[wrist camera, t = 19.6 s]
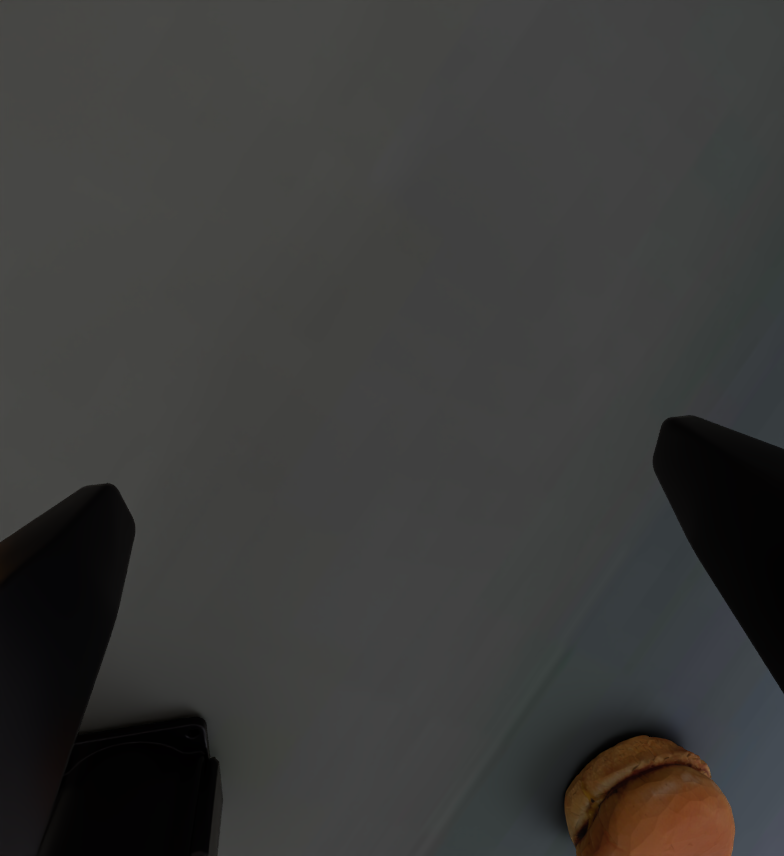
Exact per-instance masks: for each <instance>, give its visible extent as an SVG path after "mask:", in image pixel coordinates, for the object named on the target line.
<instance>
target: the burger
mask: <svg viewBox="0 0 784 856" xmlns="http://www.w3.org/2000/svg"><path fill="white" fill-rule="evenodd" d="M710 774H711V773H710V769H709V767H708V766H707V764H706V763H705V762H704V761H703V760H701V759H700V757H699V756H698V755H695V754H694V753H692V752H690V751H687V750H685V749H684V748H683V747H681V746H678V745H676V744H675V743H674V742H672V741H670V740H667V739H662V738H658V737H648V736H646V735H641V736H637V737H634V738H630V739H628V740H625V741H622V742H620V743H618V744H617V745H615V746H614V747H611V748H609V749H608V750H606V751H604V752H602V753H600V754H599V755H598V756H597V757H596V758H594V759H593V760H591V762H590V763H588V764H587V765H586V766H585V768H584V769H583V770H582V771H581V772H580V774H578V775H577V776H576V777H575V779H574V780H573V781H572V783H571V784H570V786H569V787H568V789H567V791H566V794H565V802H564V806H565V816H566V822H567V826H568V830H569V834H570V837H571V840H572V842H573V843H574V845H575V848H576V855H577V856H731V853H732V849H733V842H734V834H735V825H734V819H733V815H732V810H731V807H730V805H729V803H728V801H727V799H726V797H725V796H724V794H723V793H722V791H721V790H720V789H719V787H718V786H717V785H716V784H715V783H714V781H713V780H711V779H710V778H711V775H710Z"/></svg>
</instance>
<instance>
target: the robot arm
mask: <svg viewBox="0 0 784 856" xmlns="http://www.w3.org/2000/svg"><path fill="white" fill-rule="evenodd" d="M653 468H654V471H655V474H656V476H657V478H658V480H659V482H660V484H661V486H662V488H663V490H664V492H665V494H666V496H667V498H668V500H669V502H670V504H671V506H672V508H673V511H674V513H675V515H676V517H677V519H678V521H679V523H680V525H681V527H682V529H683V531H684V533H685V535H686V537H687V539H688V541H689V543H690V545H691V546H692V548H693V550H694V552H695V553H696V555H697V557H698V558H699V560H700V562H701V563H702V565H703V567H704V568H705V570H706V571H707V573H708V575H709V576H710V578H711V579H712V581H713V582H714V584H715V586H716V587H717V589H718V590H719V592H720V594H721V595H722V597H723V598H724V600H725V601H726V603H727V605H728V606H729V608H730V609H731V611H732V612H733V614H734V616H735V617H736V619H737V620H738V622H739V624H740V625H741V627H742V628H743V630H744V631H745V633H746V635H747V636H748V638H749V639H750V641H751V643H752V644H753V646H754V647H755V649H756V650H757V652H758V654H759V655H760V657H761V658H762V660H763V662H764V663H765V665H766V666H767V668H768V669H769V671H770V673H771V674H772V676H773V677H774V679H775V681H776V682H777V684H778V685H779V687H780V688H781V690H782V692H783V693H784V449H782V448H780V447H777V446H774V445H772V444H769V443H766V442H764V441H761V440H758V439H755V438H753V437H750V436H747V435H745V434H742V433H739V432H737V431H734V430H731V429H729V428H726V427H723V426H720V425H718V424H715V423H712V422H710V421H707V420H704V419H702V418H699V417H696V416H691V415H688V416H679V417H671V418H668V419H666V420H665V421H664V422H663V423H662V426H661V429H660V433H659V437H658V440H657V444H656V448H655V452H654V455H653ZM134 537H135V523H134V519H133V517H132V515H131V513H130V511H129V509H128V508H127V506H126V504H125V502H124V500H123V498H122V496H121V494H120V492H119V490H118V489H117V488H116V487H115V486H114V485H113V484H109V483H106V484H97V485H89V486H85V487H82V488H81V489H79V490H78V491H76V492H75V493H73V494H72V495H70V496H69V497H67V498H66V499H64V500H63V501H61V502H60V503H58V504H57V505H55V506H54V507H52V508H51V509H49V510H48V511H46V512H45V513H43V514H42V515H40V516H39V517H37V518H36V519H34V520H33V521H31V522H30V523H28V524H27V525H25V526H24V527H22V528H21V529H19V530H18V531H16V532H15V533H13V534H12V535H10V536H9V537H8V538H6V539H5V540H3V541H2V542H0V856H217V855H218V844H219V834H220V824H221V814H222V803H223V796H222V786H221V777H220V767H219V761H218V760H217V759H216V758H215V757H212V758H210V752H209V743H208V734H207V725H206V722H205V720H204V719H202V718H200V717H191V718H185V719H178V720H172V721H166V722H159V723H153V724H147V725H141V726H134V727H128V728H122V729H116V730H109V731H103V732H97V733H91V734H84V735H78V736H77V734H78V731H79V728H80V725H81V722H82V719H83V716H84V713H85V710H86V707H87V705H88V702H89V699H90V696H91V693H92V690H93V687H94V684H95V681H96V678H97V675H98V672H99V669H100V666H101V663H102V660H103V657H104V654H105V651H106V648H107V645H108V642H109V639H110V637H111V633H112V630H113V627H114V624H115V621H116V617H117V613H118V609H119V605H120V601H121V596H122V592H123V587H124V582H125V578H126V573H127V569H128V564H129V559H130V555H131V550H132V546H133V541H134ZM192 729H196V730H192Z"/></svg>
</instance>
